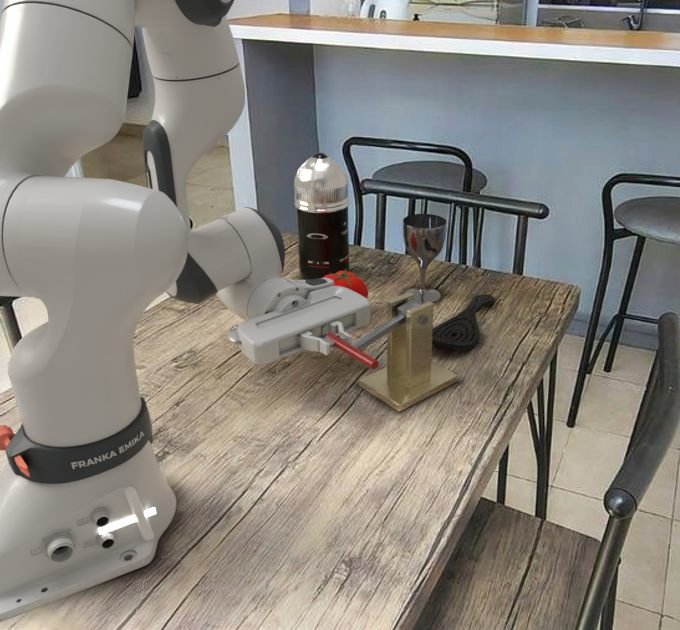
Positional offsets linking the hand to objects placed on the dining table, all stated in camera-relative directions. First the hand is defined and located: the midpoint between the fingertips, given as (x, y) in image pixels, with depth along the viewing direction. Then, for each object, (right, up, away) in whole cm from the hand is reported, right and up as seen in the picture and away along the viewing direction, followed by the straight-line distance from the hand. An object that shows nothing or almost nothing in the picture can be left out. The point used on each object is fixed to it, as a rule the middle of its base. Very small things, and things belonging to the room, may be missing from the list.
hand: (339, 345), depth 93 cm
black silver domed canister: (-8, +12, +44) cm, 46 cm away
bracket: (+9, -6, +9) cm, 15 cm away
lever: (+6, +1, +2) cm, 6 cm away
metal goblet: (+11, +8, +37) cm, 40 cm away
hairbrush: (+19, +2, +26) cm, 33 cm away
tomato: (-3, +4, +28) cm, 29 cm away
